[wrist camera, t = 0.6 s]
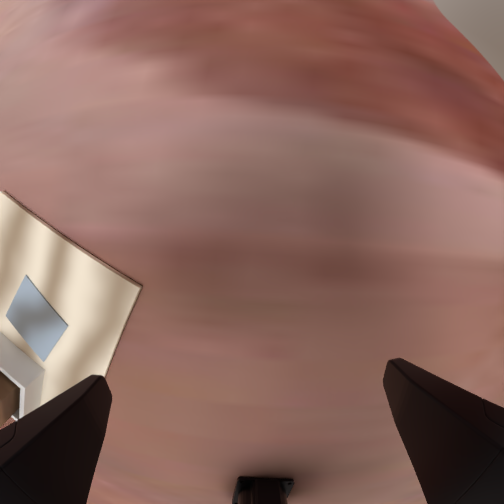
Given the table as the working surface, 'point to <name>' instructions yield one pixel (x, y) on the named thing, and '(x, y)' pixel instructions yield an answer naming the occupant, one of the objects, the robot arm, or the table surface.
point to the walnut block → (8, 398)
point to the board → (58, 300)
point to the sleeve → (21, 376)
